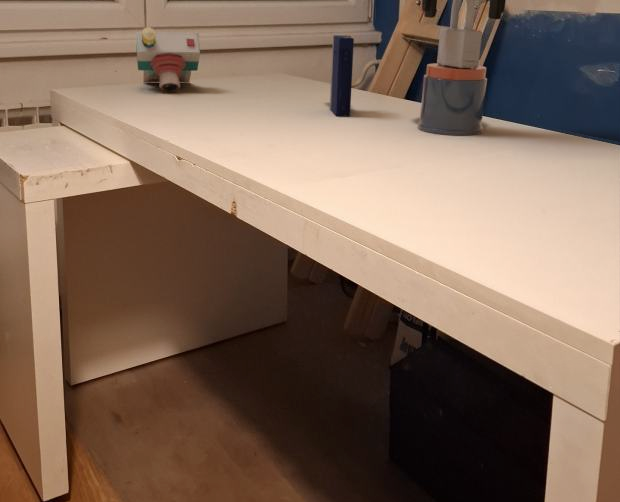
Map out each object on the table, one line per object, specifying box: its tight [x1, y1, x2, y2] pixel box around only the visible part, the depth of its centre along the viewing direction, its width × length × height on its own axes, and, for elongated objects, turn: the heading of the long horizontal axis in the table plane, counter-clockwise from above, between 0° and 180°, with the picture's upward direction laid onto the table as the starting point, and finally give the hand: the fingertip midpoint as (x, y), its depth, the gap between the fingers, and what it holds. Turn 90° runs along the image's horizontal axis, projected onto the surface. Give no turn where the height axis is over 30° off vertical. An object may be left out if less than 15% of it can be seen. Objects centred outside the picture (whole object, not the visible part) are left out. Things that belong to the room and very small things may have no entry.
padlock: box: [436, 0, 483, 69], centre depth 108 cm, size 7×4×10 cm, turn 20°
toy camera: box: [135, 26, 201, 92], centre depth 143 cm, size 11×9×20 cm
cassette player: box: [329, 34, 355, 117], centre depth 123 cm, size 7×2×12 cm, turn 7°
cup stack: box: [416, 62, 488, 136], centre depth 112 cm, size 10×10×9 cm
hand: (462, 17), depth 107 cm, fingers open, 9 cm apart
